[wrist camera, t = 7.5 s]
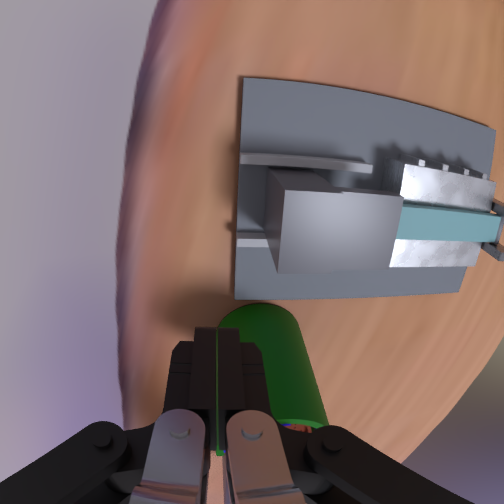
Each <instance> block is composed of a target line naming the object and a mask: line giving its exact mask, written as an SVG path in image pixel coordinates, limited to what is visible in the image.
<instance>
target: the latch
mask: <svg viewBox="0 0 504 504" xmlns="http://www.w3.org/2000/svg"><path fill="white" fill-rule="evenodd" d="M403 201H404V197H403V196H401V195H399V194H398V193H396V192H389V191H379V190H368V189H357V188H346V187H334V186H333V185H332V184H330V183H329V182H327V181H326V180H325V179H323V178H322V177H321V176H319V175H318V174H316V173H315V172H314V171H312V170H311V169H297V168H280V167H268V168H267V183H266V198H265V213H264V227H263V230H264V233H265V236H266V239H267V242H268V245H269V249H270V252H271V255H272V258H273V261H274V265H275V268H276V271H277V274H331V272H332V270H389V266H390V262H391V257H392V253H393V249H394V245H395V240H396V236H397V231H398V226H399V221H400V216H401V211H402V206H403Z"/></svg>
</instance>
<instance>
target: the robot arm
mask: <svg viewBox="0 0 504 504" xmlns="http://www.w3.org/2000/svg"><path fill="white" fill-rule="evenodd" d="M218 428H219V450H225V453H224V455H225V456H222V464H223V489H224V504H306V503H307V504H474V503H472V502H470V501H468V500H466V499H464V498H462V497H460V496H458V495H456V494H454V493H452V492H450V491H448V490H446V489H445V488H443V487H441V486H439V485H437V484H435V483H433V482H432V481H430V480H428V479H426V478H424V477H423V476H421V475H419V474H417V473H416V472H414V471H412V470H410V469H409V468H407V467H405V466H403V465H402V464H400V463H398V462H397V461H395V460H393V459H392V458H390V457H388V456H387V455H385V454H384V453H382V452H380V451H379V450H377V449H376V448H374V447H372V446H371V445H369V444H368V443H366V442H364V441H363V440H361V439H360V438H358V437H357V436H355V435H354V434H352V433H351V432H349V431H348V430H346V429H344V428H342V427H339V426H334V425H327V426H322V427H319V428H317V429H316V430H314V431H313V432H312V433H308V432H302V431H297V430H293V429H289V428H287V427H285V426H283V425H281V424H280V423H279V422H278V421H277V420H276V419H275V418H274V417H273V415H272V412H271V408H270V402H269V396H268V389H267V383H266V377H265V370H264V366H263V358H262V352H261V351H260V349H259V348H258V347H257V345H256V344H255V343H254V342H240V335H239V328H225V327H218ZM210 450H216V451H217V427H216V327H195V334H194V341H180V342H179V343H178V344H177V345H176V347H175V348H174V349H173V351H172V356H171V362H170V368H169V374H168V381H167V388H166V394H165V401H164V408H163V412H162V414H161V415H160V416H159V418H158V419H157V420H156V421H155V422H154V423H153V424H151V425H149V426H146V427H143V428H139V429H133V430H126V431H123V430H122V429H121V427H119V426H118V425H116V424H114V423H111V422H107V421H99V422H95V423H92V424H90V425H88V426H87V427H85V428H84V429H82V430H81V431H79V432H78V433H77V434H75V435H73V436H72V437H70V438H69V439H68V440H66V441H65V442H63V443H61V444H60V445H58V446H57V447H56V448H54V449H52V450H51V451H49V452H48V453H46V454H45V455H43V456H42V457H40V458H39V459H37V460H35V461H34V462H32V463H31V464H29V465H28V466H26V467H25V468H23V469H21V470H20V471H18V472H17V473H15V474H13V475H12V476H10V477H8V478H7V479H5V480H4V481H2V482H1V483H0V504H206V502H207V489H208V477H209V469H210Z"/></svg>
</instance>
